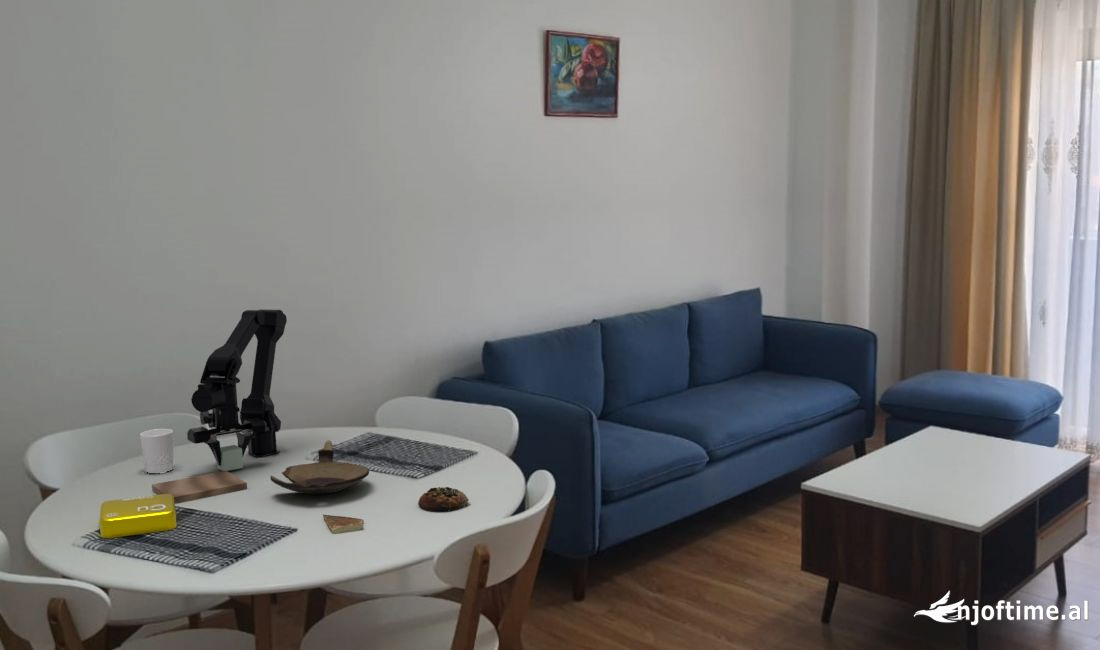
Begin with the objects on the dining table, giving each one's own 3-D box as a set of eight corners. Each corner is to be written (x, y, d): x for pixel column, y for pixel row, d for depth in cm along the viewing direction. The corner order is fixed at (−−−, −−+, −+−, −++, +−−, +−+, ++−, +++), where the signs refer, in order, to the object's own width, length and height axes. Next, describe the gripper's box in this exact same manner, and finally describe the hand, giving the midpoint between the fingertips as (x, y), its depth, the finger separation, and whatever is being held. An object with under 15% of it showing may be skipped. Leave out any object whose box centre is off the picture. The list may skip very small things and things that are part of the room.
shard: (322, 521, 229) (322, 513, 229) (358, 516, 232) (357, 508, 232) (331, 536, 219) (330, 527, 219) (367, 531, 222) (367, 523, 222)
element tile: (174, 511, 239) (173, 490, 238) (177, 531, 225) (175, 509, 224) (102, 520, 233) (100, 499, 233) (100, 541, 220) (98, 519, 219)
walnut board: (225, 476, 264) (225, 470, 264) (247, 488, 253) (246, 482, 253) (152, 490, 253) (151, 484, 253) (171, 504, 242) (170, 497, 242)
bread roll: (422, 514, 230) (421, 491, 230) (415, 506, 241) (414, 484, 241) (472, 511, 233) (471, 488, 233) (463, 503, 244) (462, 481, 244)
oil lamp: (252, 504, 241) (250, 471, 240) (314, 468, 270) (312, 439, 269) (342, 510, 235) (340, 476, 234) (395, 473, 264) (394, 443, 263)
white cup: (169, 474, 267) (166, 435, 265) (138, 475, 267) (134, 436, 266) (180, 466, 275) (177, 428, 273) (150, 466, 275) (147, 429, 273)
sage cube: (235, 463, 273) (234, 444, 272) (243, 467, 269) (241, 448, 268) (216, 467, 270) (215, 448, 269) (224, 471, 266) (222, 452, 265)
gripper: (249, 393, 279) (252, 450, 281) (177, 403, 268) (182, 463, 270) (265, 399, 270) (269, 459, 273) (192, 411, 259) (197, 472, 261)
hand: (229, 463), depth 269 cm, fingers closed on sage cube, 5 cm apart
